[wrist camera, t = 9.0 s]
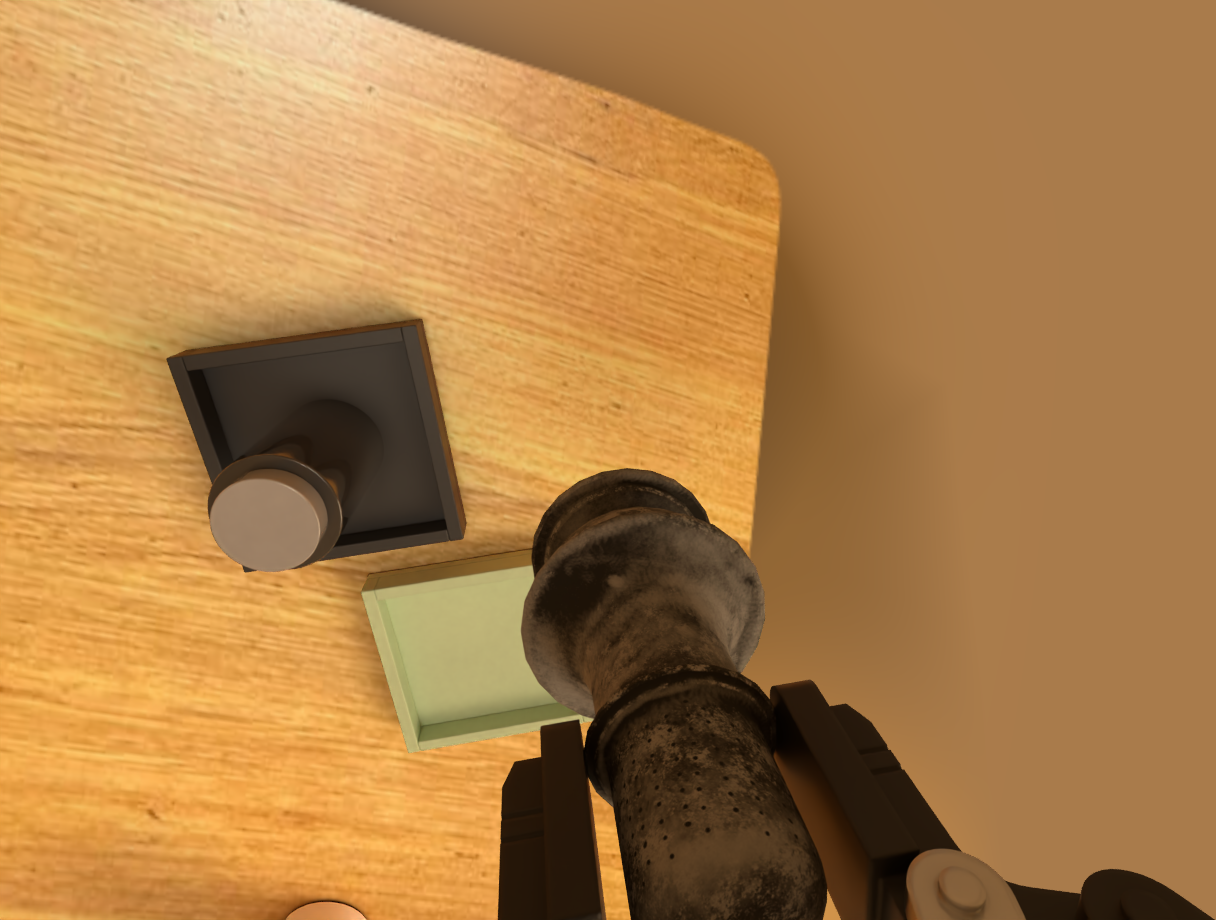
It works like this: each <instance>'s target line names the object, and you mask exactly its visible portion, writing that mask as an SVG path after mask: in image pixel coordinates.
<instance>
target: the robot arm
mask: <svg viewBox="0 0 1216 920" xmlns="http://www.w3.org/2000/svg"><path fill="white" fill-rule="evenodd" d="M770 701H771V703H772V706H773V708H774V711H775V715H776V740H777V746H776V751H775V754H774V759H775V761H776V763H777V765H778V767H779V770H780V772H781V774H782V776H783V778H784V780H785V782H786V785H787V787H788V789H789V791H790V793H791V795H792V797H793V799H794V802H795V804H796V806H797V808H798V810H799V812H800V814H801V816H802V819H803V821H804V823H805V825H806V827H807V829H808V831H809V834H810V836H811V838H812V840H813V842H814V844H815V846H816V849H817V851H818V854H819V856H820V859H821V862H822V864H823V868H824V873H825V877H826V882H827V889H828V891H829V894H830V896H831V898H832V900H833V902H834V905H835V907H836V909H837V911H838V914H839V916H840V918H841V920H1214V919H1213V918H1211V917H1210V916H1209V915H1207V914H1206V913H1204V912H1203V911H1202V910H1200V909H1198V908H1197V907H1196V906H1194V905H1193V904H1191V903H1190V902H1189V901H1187V900H1186V899H1184V898H1183V897H1181V896H1180V895H1178V894H1177V893H1175V892H1174V891H1173V890H1171V889H1169V888H1168V887H1166V886H1165V885H1163V884H1161V883H1159V882H1157V881H1155V880H1153V879H1151V878H1148V877H1146V876H1144V875H1141V874H1138V873H1134V872H1130V871H1125V870H1119V869H1118V870H1117V869H1108V870H1101V871H1098V872H1095V873H1093V874H1092V875H1090V876H1089V877H1088V878H1087V879H1086V880H1085V882H1084V884H1083V887H1082V890H1081V894H1078V893H1069V892H1062V891H1055V890H1047V889H1039V888H1031V887H1026V886H1020V885H1017V884H1013V883H1010V882H1007V881H1005V880H1004V879H1003V878H1002V877H1001V876H1000V875H999V874H998V873H997V872H996V871H994V870H993V869H992V868H991V867H990V866H988V865H987V864H985V863H984V862H982V861H980V860H979V859H977V858H975V857H973V856H971V855H969V854H966V853H963V852H962V851H961V850H960V849H959V848H958V846H957V845H956V844H955V843H954V841H953V840H952V838H951V837H950V836H949V834H948V832H947V831H946V829H945V828H944V827H943V825H942V824H941V822H940V821H939V820H938V818H937V816H936V815H935V814H934V812H933V811H932V809H931V808H930V807H929V805H928V803H927V802H926V801H925V799H924V798H923V796H922V795H921V793H920V792H919V791H918V789H917V788H916V786H915V785H914V783H913V782H912V780H911V779H910V778H909V776H908V775H907V773H906V772H905V770H902V769H901V766H900V763H899V762H898V760H897V759H896V757H895V756H894V754H893V753H892V752H891V750H888V748H887V744H886V743H885V742H884V740H883V739H882V737H881V736H880V734H879V733H878V732H877V730H876V729H875V727H874V726H873V724H872V723H871V722H870V721H869V720H868V719H866V718H865V717H863V716H862V715H861V714H860V713H858V712H857V711H856V710H854V709H853V708H851V707H850V706H849V705H847V704H841V705H836V706H829V705H828V703H827V702H826V700H825V698H824V697H823V695H822V694H821V692H820V691H819V689H818V687H817V686H816V684H815V683H814V682H813V681H811V680H805V681H799V682H794V683H788V684H782V685H776V686H772V687H771V690H770ZM540 736H541V757H538V758H533V759H527V760H522V761H516V762H514V764H513V766H512V768H511V771H510V773H509V775H508V777H507V779H506V781H505V783H504V785H503V787H502V811H501V816H502V821H501V844H500V871H499V902H498V920H606V914H605V906H604V897H603V889H602V881H601V873H600V865H599V856H598V848H597V840H596V832H595V823H594V815H593V808H592V800H591V793H590V786H589V779H588V775H587V768H586V762H585V755H584V746H583V739H582V733H581V726H580V720H579V719H577V720H571V721H566V722H560V723H554V724H549V725H543V726H541V727H540Z"/></svg>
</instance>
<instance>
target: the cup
mask: <svg viewBox="0 0 1216 920" xmlns="http://www.w3.org/2000/svg"><path fill="white" fill-rule="evenodd" d="M285 920H366V919H365V918H364V916H363V915H362V914H361V913H360V912H358V911H357V910H355V909H354V908H352V907H349V906H347V905H344V904H340V903H334V902H318V903H312V904H308V905H305V906H303V907H300V908H298V909H297V910H295V911H294V912H292V913H291V914H290V915H289V916H288V917H287V918H286V919H285Z"/></svg>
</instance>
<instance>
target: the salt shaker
mask: <svg viewBox="0 0 1216 920" xmlns="http://www.w3.org/2000/svg"><path fill="white" fill-rule="evenodd" d="M531 560H532V566H533V573H534V581H533V583H532V585H531V588H530V590H529V592H528V594H527V596H526V599H525V601H524V608H523V616H522V623H521V636H522V642H523V647H524V653H525V658H526V661H527V663H528V664H529V666H530V668H531V670H532V672H533V674H534V676H535V677H536V679H537V681H538V683H539V684H540V685H541V686H542V687H543V688H544V689H545V690H546V691H547V692H548V693H549V694H550V695H551V696H552V697H553V698H554V699H555V700H556V701H557V702H558V703H560V704H562V705H564V706H566V707H567V708H569V709H571V710H573V711H575V712H576V713H578V714H580V715H582V716H585V717H588V718H592V719H594V720H593V721H592V723H591V725H590V727H589V729H588V731H587V736H586V741H585V747H584V755H585V762H586V768H587V775H588V778H589V779H590V781H591V783H592V785H593V787H594V788H595V790H596V792H597V793H598V794H599V795H600V796H601V797H602V798H603V799H605V800H606V801H607V802H608V803H609V804H610V805H611V806H613V808H614V814H615V821H616V827H617V833H618V840H619V846H620V852H621V859H622V865H623V871H624V878H625V884H626V890H627V897H628V903H629V910H630V916H631V920H823V916H824V912H825V907H826V903H827V882H826V877H825V873H824V868H823V864H822V862H821V859H820V856H819V854H818V851H817V849H816V846H815V844H814V842H813V840H812V838H811V836H810V834H809V831H808V829H807V827H806V825H805V823H804V821H803V819H802V816H801V814H800V812H799V810H798V808H797V806H796V804H795V802H794V799H793V797H792V795H791V793H790V791H789V789H788V787H787V785H786V782H785V780H784V778H783V776H782V774H781V772H780V770H779V767H778V765H777V763H776V761H775V759H774V754H775V751H776V746H777V740H776V715H775V711H774V708H773V706H772V703H771V701H770V699H769V698H768V697H767V696H766V694H764V692H763V691H762V690H761V689H760V687H759V686H758V685H757V684H756V683H754V682H753V681H751V680H750V679H748V678H746V677H745V676H743V675H742V674H740V673H741V672H742V671H743V670H744V668H745V667H746V665H747V663H748V661H749V660H750V658H751V656H752V655H753V653H754V651H755V649H756V648H757V645H758V642H759V639H760V635H761V631H762V628H763V624H764V621H765V610H764V609H765V607H764V590H763V588H762V585H761V582H760V579H759V576H758V573H757V570H756V567H755V565H754V564H753V563H752V561H751V560H750V559H749V557H748V556H747V554H746V553H745V552H744V550H743V549H742V548H741V546H740V545H739V544H738V542H736V541H735V540H734V539H732V538H731V537H730V536H728V535H727V534H725V533H724V532H723V531H721V530H720V529H719V528H717V527H716V526H715V525H713V524H710V522H709V519H708V516H707V514H706V511H705V510H704V508H703V507H702V506H701V504H700V503H699V502H698V500H697V499H696V498H695V496H694V495H693V494H692V493H691V492H690V491H689V490H687V489H686V488H685V487H683V486H682V485H681V484H679V483H678V482H677V481H675V480H674V479H672V478H669V477H666V476H664V475H661V474H658V473H656V472H653V471H648V470H639V469H629V468H626V469H619V470H612V471H605V472H601V473H598V474H596V475H593V476H591V477H588V478H586V479H583V480H581V481H579V482H577V483H576V484H575V485H573V486H572V487H570V488H569V489H568V490H566V491H565V492H564V493H562V494H561V495H559V496H558V498H557V499H556V500H555V501H554V502H553V504H552V505H551V506H550V507H549V509H548V510H547V511H546V512H545V513H544V515H543V517H542V519H541V521H540V524H539V526H538V528H537V530H536V533H535V535H534V541H533V548H532V556H531Z"/></svg>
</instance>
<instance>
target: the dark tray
mask: <svg viewBox="0 0 1216 920" xmlns="http://www.w3.org/2000/svg"><path fill="white" fill-rule="evenodd" d="M167 362H168V365H169V368H170V371H171V373H172V376H173V379H174V381H175V384H176V387H177V390H178V392H179V395H180V398H181V401H182V403H183V406H184V409H185V411H186V414H187V417H188V420H189V422H190V425H191V428H192V430H193V433H194V436H195V439H196V441H197V444H198V447H199V450H200V452H201V455H202V458H203V460H204V463H205V466H206V469H207V471H208V474H209V477H210V479H211V482H212V485H213V483H214V481H215V479H216V478H217V477H218V475H219V474H220V473H221V472H222V471H223V470H224V469H225V468H226V467H227V466H229V465H230V464H231V463H232V462H233V461H235V460H236V459H237V458H238V457H239V456H241V455H242V454H243V453H244V452H245V451H247V450H248V449H249V448H250V447H251V446H253V445H254V444H255V443H256V442H257V441H259V440H260V439H261V438H262V437H263V436H265V435H266V434H267V433H268V432H269V431H270V430H272V429H273V428H274V427H275V426H276V425H278V424H279V423H280V422H281V421H282V420H284V419H285V418H286V417H287V416H288V415H290V414H291V413H292V412H293V411H294V410H296V409H297V408H299V407H300V406H302V405H304V404H306V403H308V402H311V401H315V400H322V399H333V400H339V401H343V402H346V403H349V404H351V405H353V406H355V407H357V408H359V409H360V410H362V411H363V412H364V413H366V414H367V415H368V416H369V417H370V418H371V419H372V421H373V422H374V423H375V424H376V426H377V428H378V429H379V431H380V434H381V436H382V439H383V444H384V457H383V462H382V465H381V467H380V469H379V471H378V473H377V474H376V476H375V478H374V479H373V481H372V483H371V485H370V486H369V488H368V490H367V491H366V493H365V495H364V496H363V498H362V500H361V501H360V503H359V505H358V507H357V508H356V510H355V512H354V513H353V515H352V517H351V518H350V520H349V522H348V524H347V525H346V527H345V529H344V530H343V532H342V534H341V535H340V537H339V539H338V540H337V542H336V544H335V545H334V547H333V548H332V549H331V550H330V552H329V553H327V554H326V555H325V556H324V557H323V558H321V559H320V560H318V561H323V560H330V559H336V558H343V557H349V556H356V555H362V554H369V553H375V552H382V551H388V550H395V549H401V548H408V547H414V546H421V545H427V544H434V543H440V542H447V541H449V540H450V541H455V540H461V539H463V538H464V533H465V528H466V519H465V514H464V510H463V505H462V500H461V496H460V491H459V487H458V482H457V477H456V473H455V468H454V464H453V459H452V454H451V450H450V445H449V441H448V436H447V431H446V427H445V422H444V418H443V413H442V409H441V404H440V399H439V395H438V390H437V386H436V381H435V376H434V372H433V367H432V363H431V358H430V353H429V349H428V344H427V340H426V335H425V330H424V326H423V321H422V319H418V320H410V321H403V322H395V323H388V324H380V325H373V326H365V327H358V328H350V329H343V330H335V331H328V332H320V333H313V334H305V335H298V336H290V337H282V338H275V339H267V340H260V341H252V342H245V343H237V344H230V345H222V346H215V347H207V348H200V349H192V350H186V351H183V352H181V353H178V354H176V355H173V356H171V357H168V358H167ZM242 566H243V565H242ZM243 569H244V572H252V571H257V570H254V569H251V568H248V567H245V566H243Z"/></svg>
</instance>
